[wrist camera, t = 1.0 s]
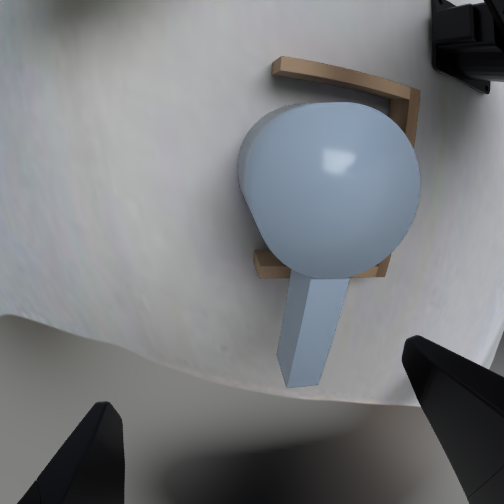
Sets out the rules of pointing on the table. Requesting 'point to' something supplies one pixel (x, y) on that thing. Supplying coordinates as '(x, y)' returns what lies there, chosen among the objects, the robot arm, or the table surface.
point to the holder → (400, 96)
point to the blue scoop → (326, 212)
